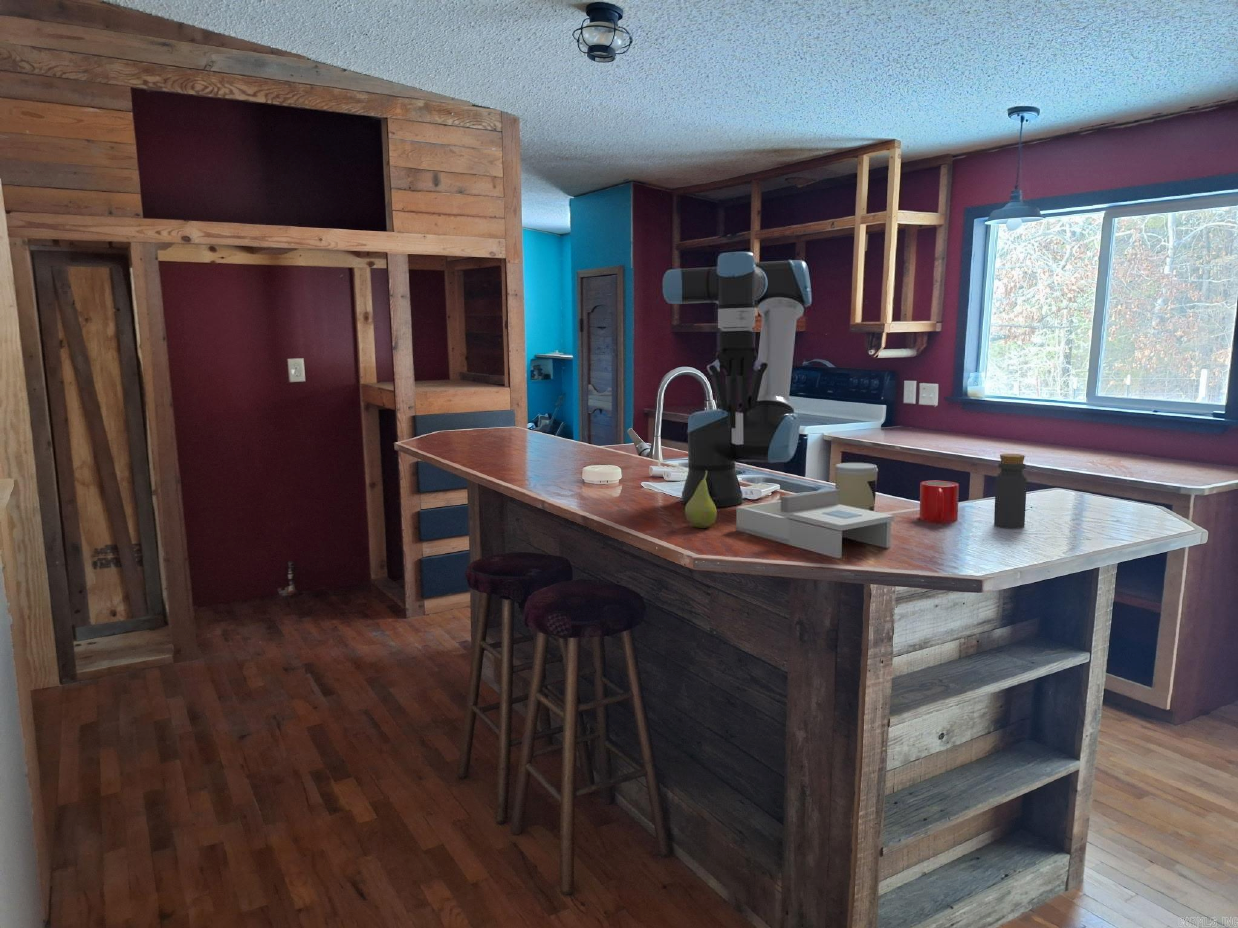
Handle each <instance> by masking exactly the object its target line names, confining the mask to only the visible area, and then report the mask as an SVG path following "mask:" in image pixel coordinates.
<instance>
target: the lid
mask: <svg viewBox="0 0 1238 928" xmlns="http://www.w3.org/2000/svg"><path fill="white" fill-rule="evenodd" d="M780 500H781V516H782V517H786V518H790V519H794V520H799V521H803V522H807V523H811V524H815V525H819V526H824V527H828V528H832V529H836V530H840V531H842V530H847V529H852V528H858V527H863V526H868V525H874V524H879V523H884V522H894V521H895V515H894V514H887V513H884V512H879V511H875V510H874V511H869V510H864V509H860V508H855V507H850V506H845V505H840V504H839V490H838V489H836V488H827V489H821V490H819V489H818V490H812V491H807V492H800V493H794V494H787V495H781V496H780Z"/></svg>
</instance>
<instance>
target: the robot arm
mask: <svg viewBox="0 0 1238 928" xmlns="http://www.w3.org/2000/svg"><path fill="white" fill-rule="evenodd" d="M755 261H756V260H755V254H753V252H751V251H730V252H723V253H720V254H719V256H718V257H717V266H714V267H713V266H712V267H711V266H710V267H693V268H692V267H691V268H677V269H668V270H667V271H666V272H665V273H664V275H663V278H662V294H663V298H664V300H665V302H667V303H668V304H674V305H675V304H676V305H682V304H685V305H686V304H701V303H716V304H717V328H719V329H720V331H719V332H717V333H718V334H717V337H718V339H717V340H718V344H717V345H718V346H717V347H718V352H717V353H718V354H717V355H716V360H715V361H714V362H712V363H711V364H707V365H706V366H705V368H706V371H707V372H708V374H709V376H710V377H711V382H712V386H713V390H714V395H715V398H716V403H717V407H718V408H714V409H708V410H701V411H696V412H693V413H692V414H690V415H689V416H688V418H687V421H688V422H687V423H688V424H687V431H686V433H687V460H688V461H687V462H688V463H687V465H688V466H687V467H688V472H687V475H686V479H685V482H684V485H683V490H682V491H681V503H682V504H683V505H685V506H686V505H687V503H688V502H689V500H690V499H691V498H692V496H693V495H694V493H695V491H696V489H697V487H698V486H699V484H700V482H701V481H702V480H703V479H704V477H705V471H706V470H707V476H706V483H707V489H708V493H709V496H710V498H711V499H712V501H713V503H714V504H715V507H716V508H724V507H732V506H738V505H741V504H743V502H744V499H743V491H742V489H741V485H740V481H739V479H738V475H737V472H736V471H737V470H736V462H757V463H770V464H775V463H787V462H789V461H790V460H792V458H793V457H794V455H795V453H796V450H797V447H798V444H799V443H798V442H799V437H800V427H801V426H800V425H801V420H800V417H799V415H798V414H797V413H795V409H794V407H793V406H792V405H791V404H790V403H789V401H790V393H791V391H790V390H791V381H792V371H793V361H794V360H793V359H794V351H795V339H796V330H797V329H796V328H797V321H798V319H800V318H801V317H802V316H803V314H804V310H805V307H806V308H807V307H810V306H811V304H812V288H811V287H812V286H811V279H810V278H811V277H810V273H809V267H808V265H807V263H806V262H805V261H804V260H801V259H799V260H798V259H797V260H796V259H793V260H792V259H787V260H776V261H773V260H772V261H756V262H755ZM756 308H757V312H758V314H759V315H760V316H761V318H762V319H761V327H760V334H759V335H760V337H759V345H758V353H756V351H755V350H756V331H755V330H753V328H755V327H756ZM757 354H758V355H757ZM720 368H721V369H722V371H723V372H724V373H725V380H726V385H725V386H726V390H725V389H724V384H723V381H722V377H721V374H720V370H721V369H720ZM752 368H753V372H752V376H751V381H750V385H749V383H748V381H749V377H750V376H749V373H750V371H751V369H752ZM748 385H749V387H748ZM737 408H738V409H737ZM737 410H738V411H737Z"/></svg>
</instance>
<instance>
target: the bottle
mask: <svg viewBox="0 0 1238 928" xmlns="http://www.w3.org/2000/svg"><path fill="white" fill-rule="evenodd" d="M1025 457H1026V455H1025V454H1021V453H1019V454H1018V453H1001V454H1000V455H999V459H1000V462H999V463H998V465H997V466H998V469H1000V472H999V473H998V474H996V475H995V492H994V493H995V494H994V513H993V515H994V516H993V523H994V524H993V525H994V526H995V527H998V528H1003V529H1023V528H1025V522H1026V521H1025V520H1026V503H1027V502H1026V501H1027V482H1028V479H1027V478H1028V477H1027V476H1026V474H1024V473H1023V470H1025V469H1026V464H1025V463H1024V460H1025Z"/></svg>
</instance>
